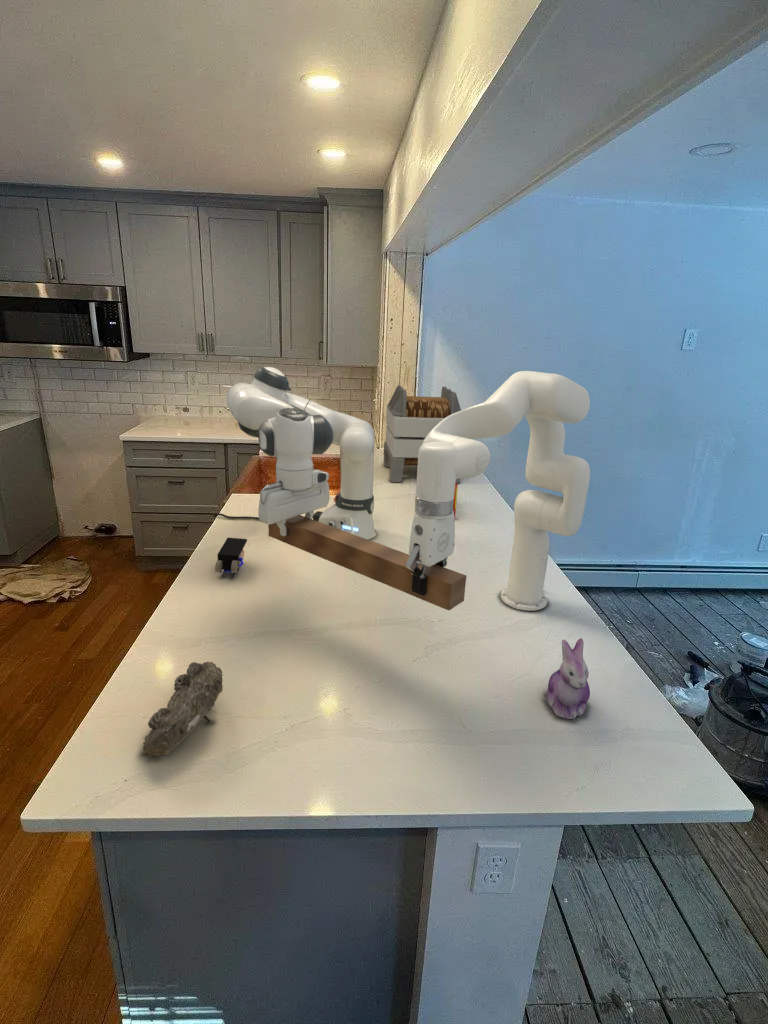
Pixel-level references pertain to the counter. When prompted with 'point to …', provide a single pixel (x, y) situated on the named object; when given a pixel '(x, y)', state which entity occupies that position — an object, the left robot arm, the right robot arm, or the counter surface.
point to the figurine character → (230, 556)
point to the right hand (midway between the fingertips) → (427, 587)
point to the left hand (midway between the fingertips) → (295, 531)
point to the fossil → (184, 708)
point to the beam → (371, 560)
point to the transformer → (413, 426)
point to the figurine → (569, 683)
